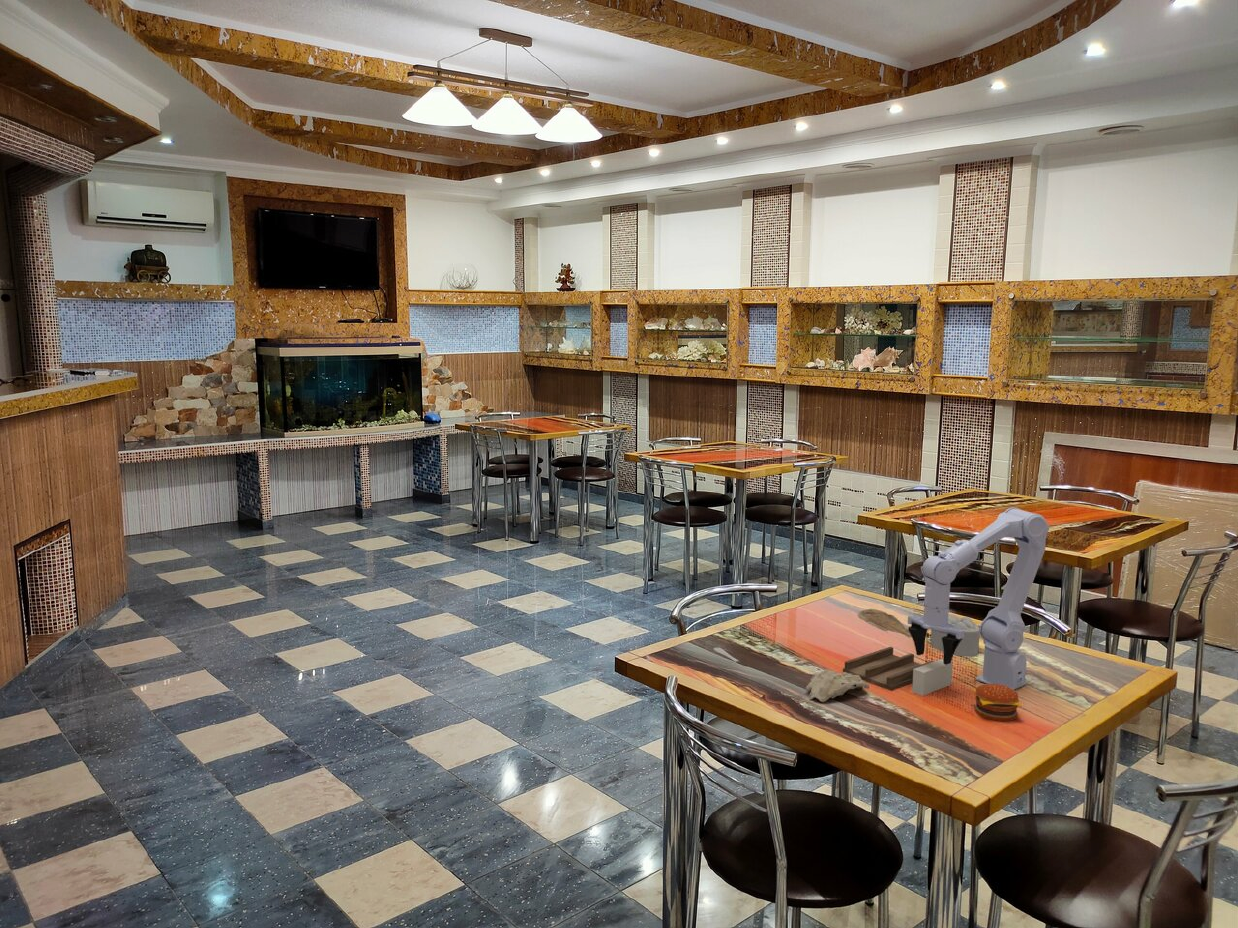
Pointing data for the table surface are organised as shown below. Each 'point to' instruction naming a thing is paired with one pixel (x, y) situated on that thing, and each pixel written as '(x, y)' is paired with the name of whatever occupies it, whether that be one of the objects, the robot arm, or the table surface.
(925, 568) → the robot arm
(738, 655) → the table surface
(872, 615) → the fish fossil
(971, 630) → the lumpy-topped squat cylinder
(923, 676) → the white rectangular block
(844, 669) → the rack
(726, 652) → the butter knife
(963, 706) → the table surface
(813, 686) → the coral
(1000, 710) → the hamburger
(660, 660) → the table surface
